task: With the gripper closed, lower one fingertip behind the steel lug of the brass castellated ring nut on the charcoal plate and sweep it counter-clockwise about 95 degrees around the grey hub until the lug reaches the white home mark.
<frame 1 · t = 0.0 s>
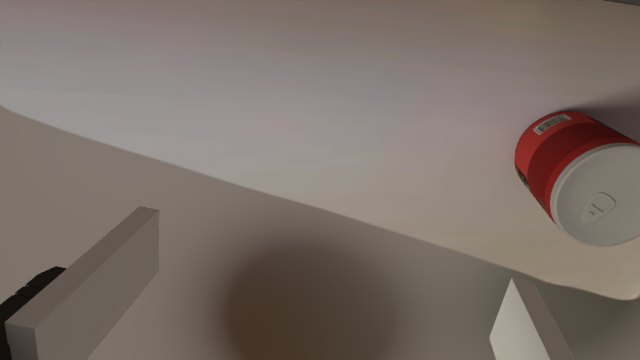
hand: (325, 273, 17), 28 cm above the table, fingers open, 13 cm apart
canned food: (555, 150, 42), on the table
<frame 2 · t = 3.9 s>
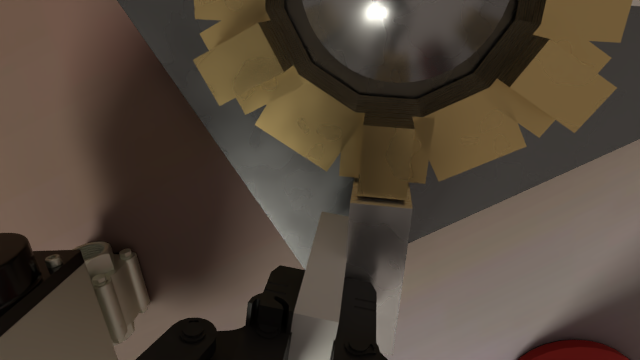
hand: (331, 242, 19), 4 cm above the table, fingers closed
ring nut: (392, 75, 15), point 4 cm above the table, hinge at -34.4°, touching gripper
pneumatic valve: (113, 274, 26), on the table
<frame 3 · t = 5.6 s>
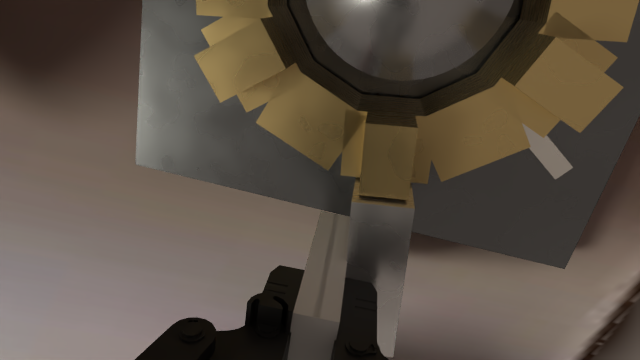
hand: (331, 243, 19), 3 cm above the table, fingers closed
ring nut: (395, 73, 15), point 4 cm above the table, hinge at 8.4°, touching gripper
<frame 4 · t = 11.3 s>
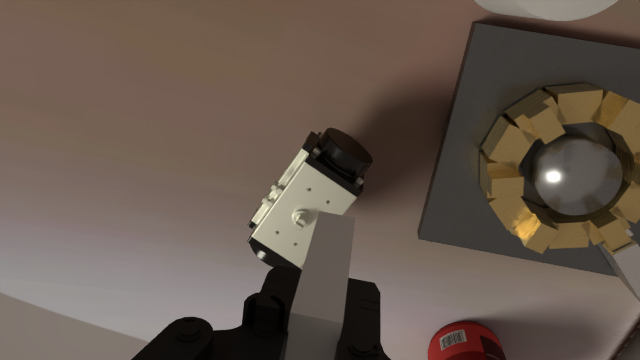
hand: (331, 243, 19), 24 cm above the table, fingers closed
base plate: (553, 156, 41), on the table
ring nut: (589, 201, 37), point 4 cm above the table, hinge at 45.8°
pneumatic valve: (316, 164, 44), on the table
canned food: (462, 346, 50), on the table
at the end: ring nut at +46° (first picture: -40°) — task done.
